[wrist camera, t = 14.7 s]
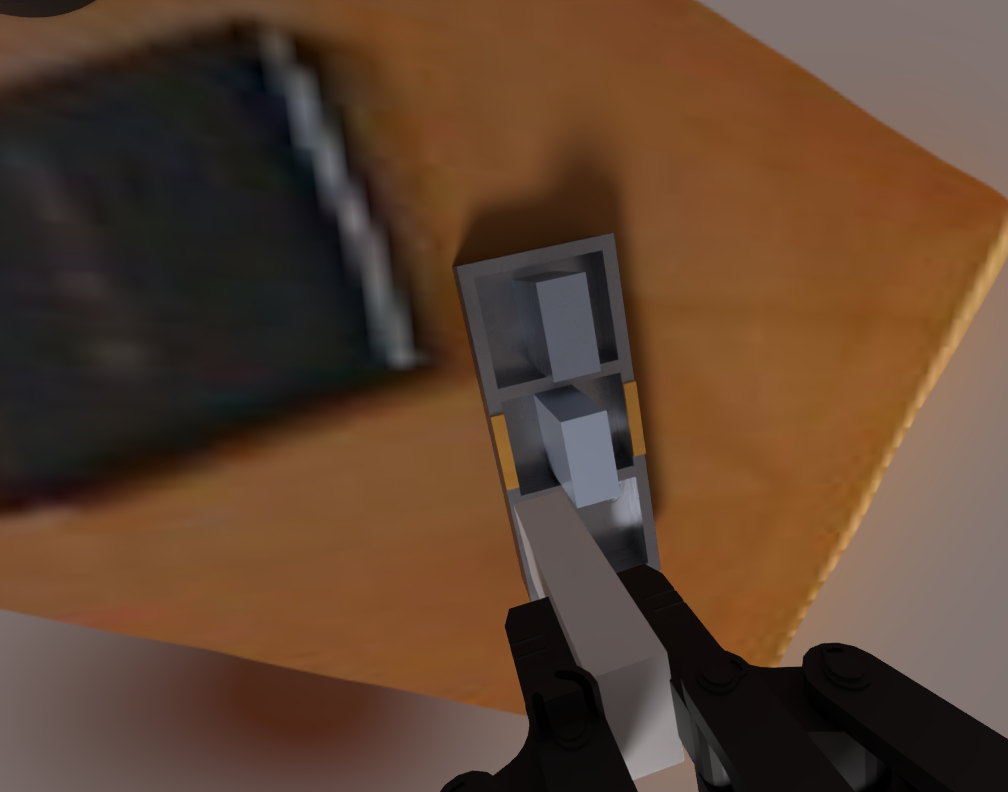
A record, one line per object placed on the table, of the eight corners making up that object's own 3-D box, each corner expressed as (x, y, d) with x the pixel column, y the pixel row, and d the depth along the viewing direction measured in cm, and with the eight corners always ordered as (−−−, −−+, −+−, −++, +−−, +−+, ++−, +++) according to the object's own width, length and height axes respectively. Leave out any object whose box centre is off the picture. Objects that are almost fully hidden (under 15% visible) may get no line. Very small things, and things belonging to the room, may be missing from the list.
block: (533, 394, 42) (560, 422, 34) (571, 384, 42) (606, 410, 34) (548, 465, 43) (577, 508, 36) (584, 456, 44) (620, 495, 36)
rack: (452, 266, 39) (463, 266, 31) (593, 236, 41) (643, 227, 32) (522, 578, 47) (547, 650, 38) (640, 544, 48) (690, 606, 39)
